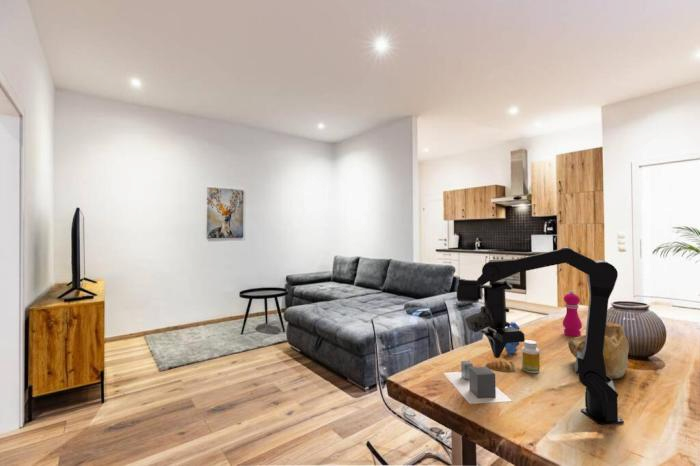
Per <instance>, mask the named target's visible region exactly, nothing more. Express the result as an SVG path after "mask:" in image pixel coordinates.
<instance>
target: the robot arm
mask: <svg viewBox="0 0 700 466" xmlns="http://www.w3.org/2000/svg"><path fill="white" fill-rule="evenodd" d="M562 264H567V265H569V266H571V267H572V268H575V269H577V270H578V271H581V272H582V273H584V274H585V275H586V280H587V287H588V292H589V298H588V305H587V306H588V309H587V319H586V328H585V330H586V331H585V335H586V337H585V346H584V349H583V351H582V353H581V352H578V351H576V357H575V362H574V363H573V365H574V371H575V374H576V375H578V380H579V382H580V383H581V384H582V385H583V386H584V387H585V391H584V393H585V394H584V398H585V400H584V401H585V403H584V405H585V407H584V408H580V412H582V413H583V414H584V415H586V416H587V417H589V418H590V419H592V420H593V421H594V422H596V423H597V424H599V425H608V424H609V425H610V424H623V423H625V420H624V419H623V418H621V417H619V415H618V414H619V413H618V411H619V410H618V409H619V407H618V405H619V404H618V397H619V392H618V391H617V388H616V386H615V384H614V381H613V379H610V378H609V377H608V376H607V375H606V368H605V362H604V356H603V349H604V339H605V329H606V324H607V317H608V310H609V309H608V308H609V299H610V296H611V295H612V293H613V291H614V289H615V286H616V283H617V280H618V275H619V274H618V270H617V268H616V267H615V266H614V265H613V264H611V263H609V262H608V261H606V260H602V259H597V260H594V259H592V258H590V257H587V256H586V255H583V254H581V253H579V252H578V251H575V250H574V249H573V248H571V247H567V246H566V247H565V246H563V247H561V248H559V249H555V250H550V251H546V252H542V253H537V254H533V255H528V256H523V257H519V258H513V259H512V258H511V259H492V260H490V261H488V262H486V263H485V264H484V265H483V266H482V268H481V269H482V270H481V275H480V276H479V277H478V278H477V279H465V278H460V279H458V280H457V281H458V284H457V289H456V299H457V301H458V302H460V303H461V302H464V303H465V302H466V303H476V304H477V303H479V301H480V300H484V301H483V304H484V305H482V306H481V307H480V311H479V312H476V313H473V314H471V315H468V316H467V317H465V319H464V321H465V323H466V326H467V328H468V330H471V332H473V333H478V332H480V333H481V334H483V335H484V336H486V337H487V338H486V339H488V342H489V346H490V348H491V350H492V354H493V358H496V359H499V358H500V357H501V355H502V353H503V350H504V349H505V346H506V344H507V343H514V342H519V343H524V341H525V340H526V339H525V333H524V332H523V331H522V330H520V329H519V330H518V329H516V328H507V327H509V326H510V323H511V322H508V321H507V313H510V308H508V307H506V306H507V305H506V301H507V300H506V291H508V290H512V289H513V285H512V284H511V283H509V281H508V280H506V278H508V277H511V276H514V275H515V274H516V275H517V274H518V273H522V272H527V271H532V270H537V269H541V268H547V267H551V266H557V265H562ZM503 279H505V280H504V281H502V282H499V281H501V280H503ZM489 282H491V284H490V285H487V284H488V283H489Z"/></svg>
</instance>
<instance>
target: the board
mask: <svg viewBox="0 0 700 466" xmlns="http://www.w3.org/2000/svg"><path fill="white" fill-rule="evenodd" d="M443 375H444V376H445V377H446V378H447V379H448V380H449V382H450V383H451V384H452V385H453V387H455V389H456V390H457V391H458V392H459V393H460V395H462V397H463V398H464V399H465V400H466V402H467V403H468V404H469V405H474V404H489V403H503V402H504V403H506V402H507V403H508V402H513V400H512V399H511V398H509V397H508V396H507V395H506V394H505V393H504V392H503V391H501V390H500V388H498V387H497V386H496V398H479V399H478V398H477V397H476V396H475V395H474V394H473V393H472V392H471V391H470V381H469V380H464V379H463V378H462V376H461V371H454V372H452V371H451V372H443Z"/></svg>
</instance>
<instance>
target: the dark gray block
mask: <svg viewBox="0 0 700 466" xmlns="http://www.w3.org/2000/svg"><path fill="white" fill-rule="evenodd" d="M469 381H470V391H471V392H472V393H473V394H474V395H475V396H476V397H477V398H478V399H479V398H496V387H497V386H496V373H494V371H492V369H489V368H488V367H486V366H473V367H469Z"/></svg>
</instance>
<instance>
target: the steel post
mask: <svg viewBox="0 0 700 466" xmlns="http://www.w3.org/2000/svg"><path fill="white" fill-rule="evenodd" d="M460 363H461V364H460V367H461V369H460V370H461V371H460V372H461V376H462V378H463V379H464V380H469V367H474V364H473V363H472V362H471V361H470V360H461V361H460Z"/></svg>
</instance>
